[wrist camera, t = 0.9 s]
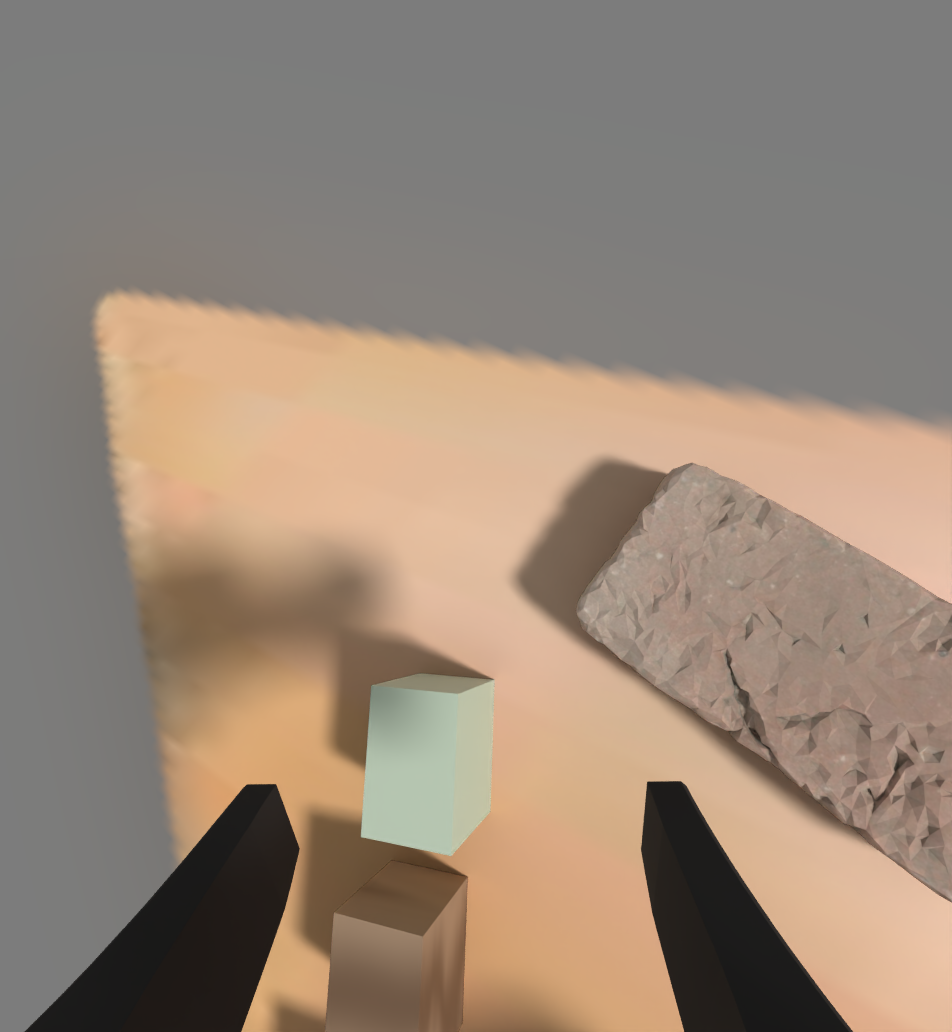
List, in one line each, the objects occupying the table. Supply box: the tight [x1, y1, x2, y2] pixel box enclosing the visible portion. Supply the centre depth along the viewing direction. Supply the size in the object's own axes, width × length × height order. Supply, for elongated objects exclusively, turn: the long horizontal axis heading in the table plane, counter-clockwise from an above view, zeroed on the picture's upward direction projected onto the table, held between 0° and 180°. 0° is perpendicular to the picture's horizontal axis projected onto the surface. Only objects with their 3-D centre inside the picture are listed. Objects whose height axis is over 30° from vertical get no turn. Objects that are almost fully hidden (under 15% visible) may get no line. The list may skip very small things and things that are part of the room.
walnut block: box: [325, 860, 468, 1032], centre depth 23 cm, size 6×4×5 cm, turn 178°
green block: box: [361, 673, 494, 856], centre depth 24 cm, size 6×4×5 cm, turn 178°
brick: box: [576, 463, 952, 902], centre depth 20 cm, size 17×8×5 cm, turn 54°
